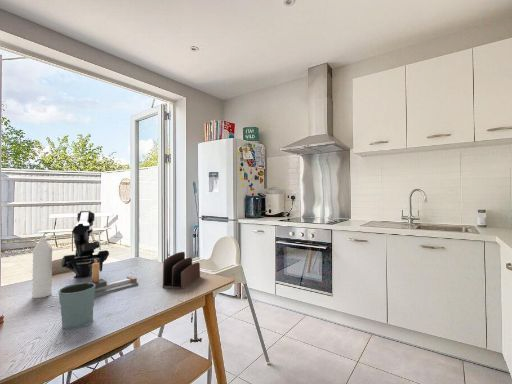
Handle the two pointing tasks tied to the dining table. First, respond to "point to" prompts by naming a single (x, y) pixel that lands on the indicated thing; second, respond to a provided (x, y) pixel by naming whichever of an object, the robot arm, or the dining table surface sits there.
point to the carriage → (97, 277)
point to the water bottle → (42, 269)
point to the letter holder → (179, 271)
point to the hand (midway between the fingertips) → (90, 273)
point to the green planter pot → (77, 305)
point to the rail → (116, 286)
